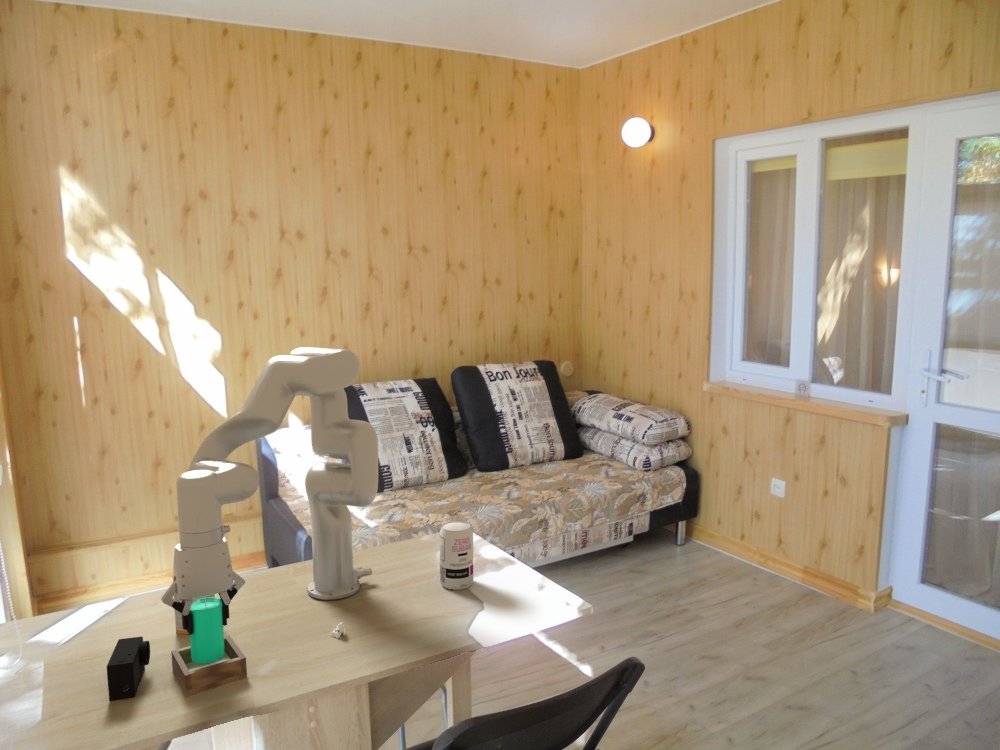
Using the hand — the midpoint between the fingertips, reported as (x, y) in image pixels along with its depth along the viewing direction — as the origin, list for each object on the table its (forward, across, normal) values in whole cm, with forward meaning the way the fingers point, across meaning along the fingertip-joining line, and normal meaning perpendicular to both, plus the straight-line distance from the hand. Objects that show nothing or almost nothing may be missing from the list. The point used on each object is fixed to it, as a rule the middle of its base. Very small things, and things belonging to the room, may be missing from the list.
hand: (206, 626), depth 142 cm
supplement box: (+10, -3, -22) cm, 24 cm away
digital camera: (+10, +13, -5) cm, 17 cm away
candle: (+6, 0, 0) cm, 6 cm away
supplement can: (+10, -61, -7) cm, 62 cm away
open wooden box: (+10, 0, 0) cm, 10 cm away
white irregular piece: (+10, -26, -1) cm, 28 cm away
